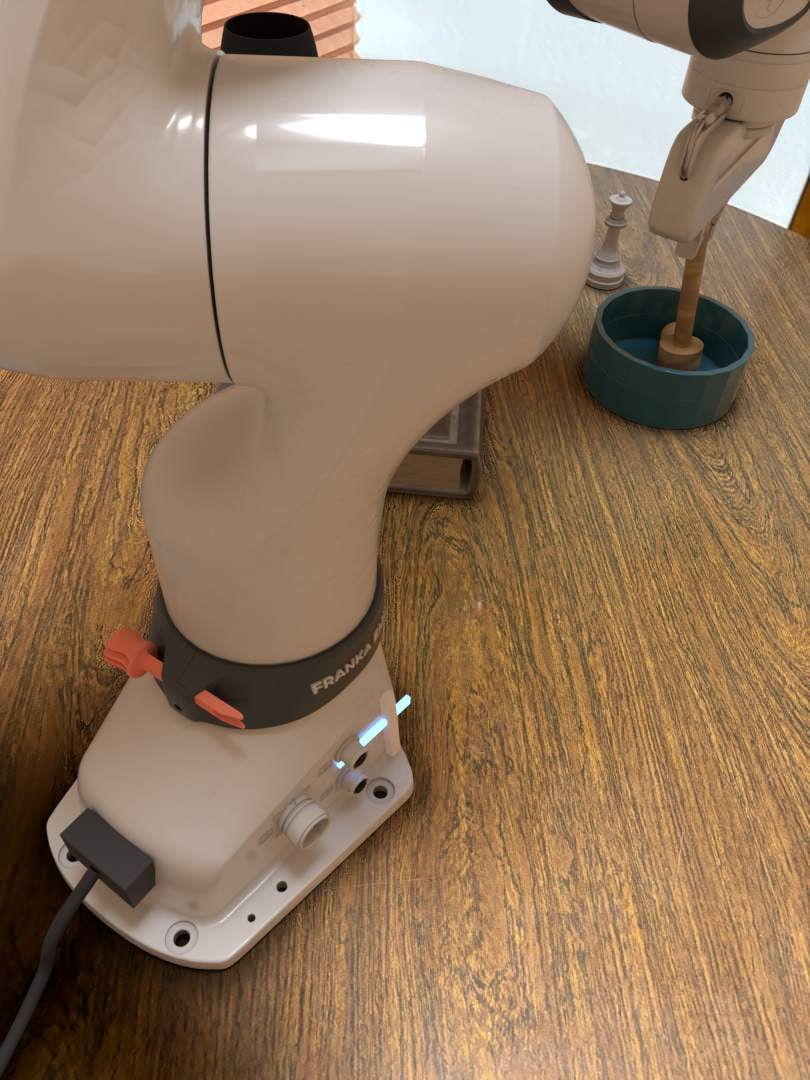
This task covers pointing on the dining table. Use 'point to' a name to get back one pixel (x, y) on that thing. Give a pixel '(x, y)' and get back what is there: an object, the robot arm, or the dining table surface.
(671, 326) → the beige ball
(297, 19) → the wine glass
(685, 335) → the wooden peg stand
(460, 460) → the book
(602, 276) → the chess piece
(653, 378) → the bowl
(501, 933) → the dining table surface
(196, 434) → the robot arm
